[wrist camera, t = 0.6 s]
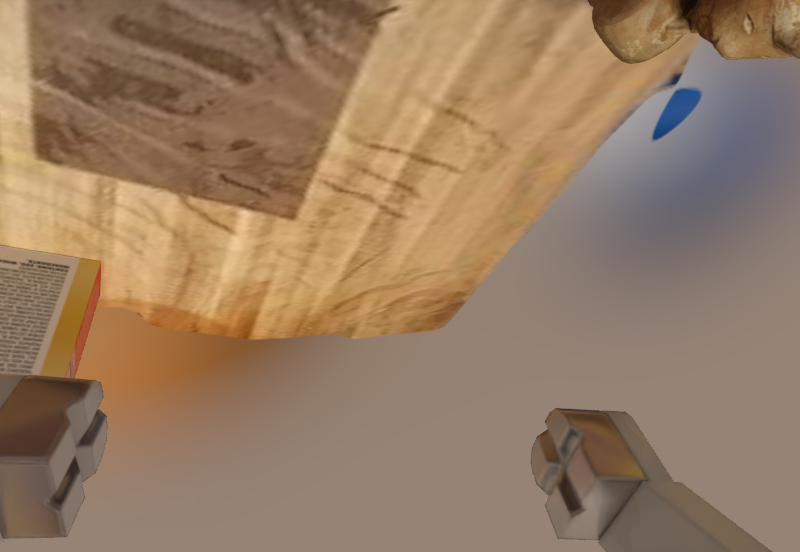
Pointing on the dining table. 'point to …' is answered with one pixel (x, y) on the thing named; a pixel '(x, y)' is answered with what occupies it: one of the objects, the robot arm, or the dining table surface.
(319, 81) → the dining table surface
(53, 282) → the pasta box
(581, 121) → the dining table surface
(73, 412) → the robot arm
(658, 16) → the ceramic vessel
